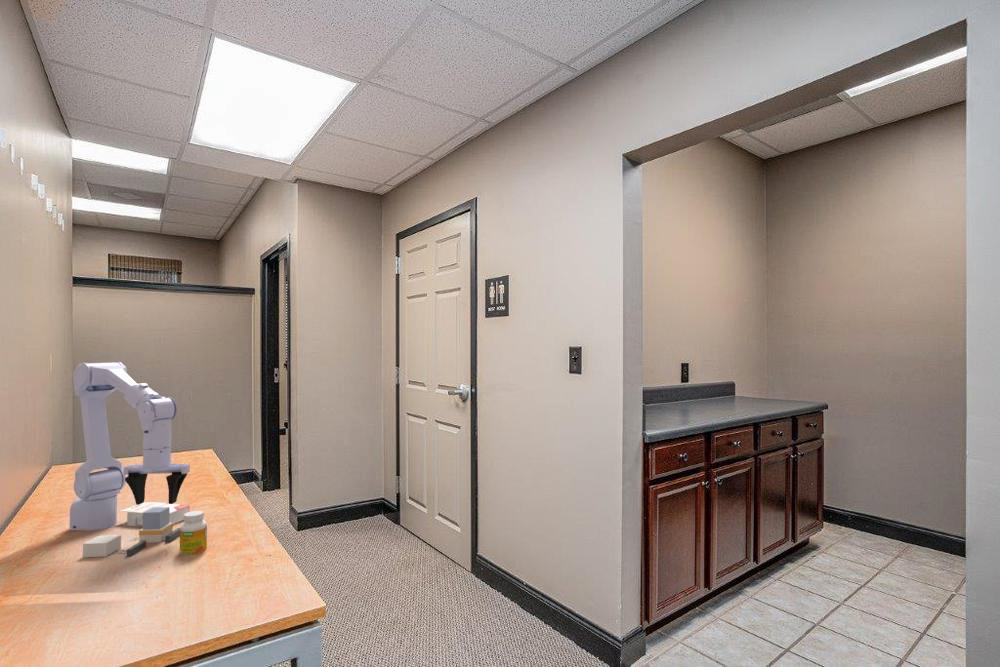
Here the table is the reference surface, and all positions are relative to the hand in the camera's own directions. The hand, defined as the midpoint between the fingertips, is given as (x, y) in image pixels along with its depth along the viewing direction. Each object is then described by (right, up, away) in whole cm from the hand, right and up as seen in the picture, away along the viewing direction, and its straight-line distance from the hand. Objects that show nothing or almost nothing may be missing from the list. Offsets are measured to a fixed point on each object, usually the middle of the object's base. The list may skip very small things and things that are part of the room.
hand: (156, 503), depth 128 cm
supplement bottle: (+13, -10, -7) cm, 18 cm away
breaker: (0, -9, 0) cm, 9 cm away
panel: (-3, -10, -3) cm, 11 cm away
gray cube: (0, -6, 0) cm, 6 cm away
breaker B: (-7, -8, -9) cm, 14 cm away
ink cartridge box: (-2, -8, +11) cm, 14 cm away
